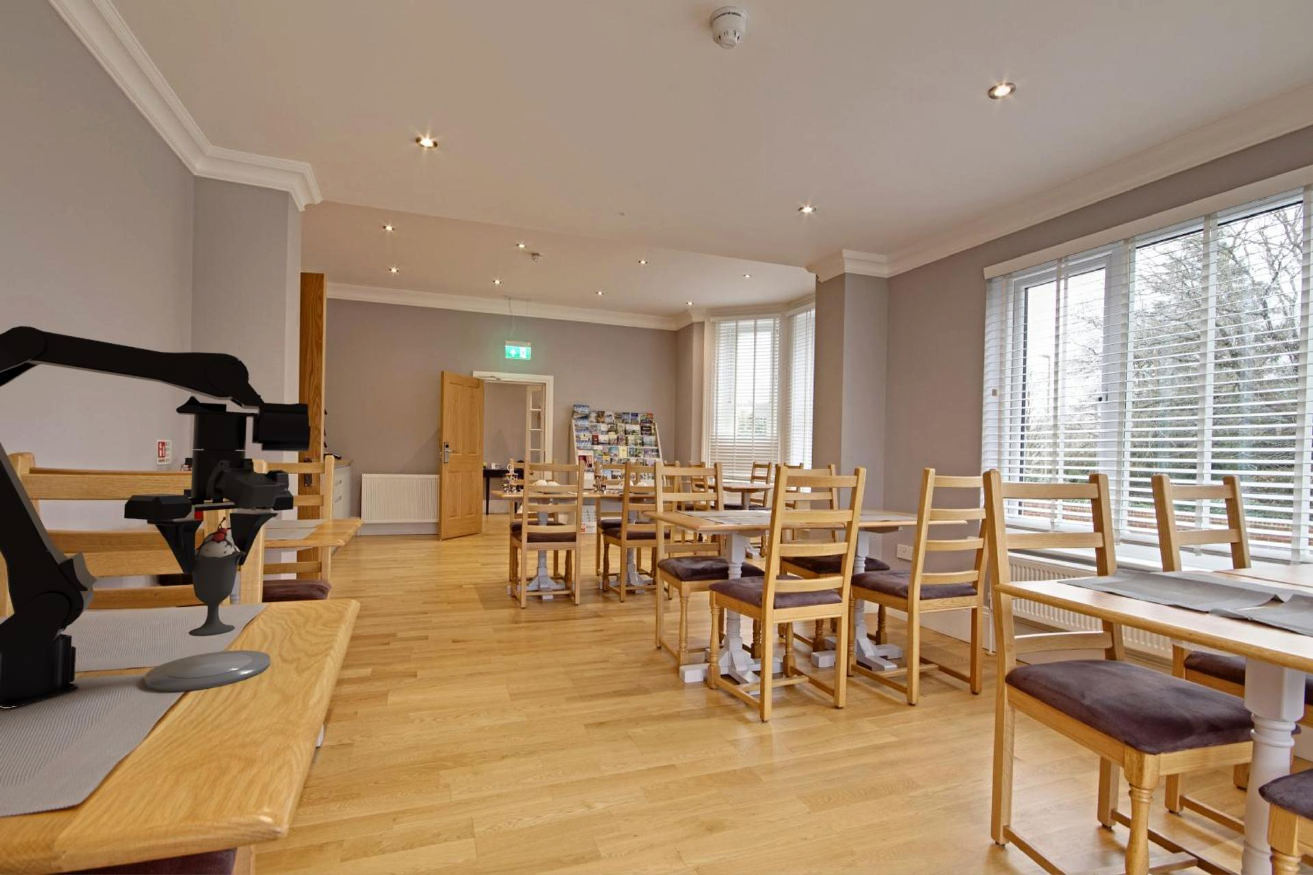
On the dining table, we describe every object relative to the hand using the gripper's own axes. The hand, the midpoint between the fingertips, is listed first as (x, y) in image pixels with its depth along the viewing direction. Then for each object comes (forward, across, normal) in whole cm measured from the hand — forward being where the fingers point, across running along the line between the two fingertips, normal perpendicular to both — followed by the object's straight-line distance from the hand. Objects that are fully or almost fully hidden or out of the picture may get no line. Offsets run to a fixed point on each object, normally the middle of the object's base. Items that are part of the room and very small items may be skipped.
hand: (214, 569), depth 81 cm
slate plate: (+13, -1, -1) cm, 13 cm away
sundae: (+8, 0, 0) cm, 8 cm away
